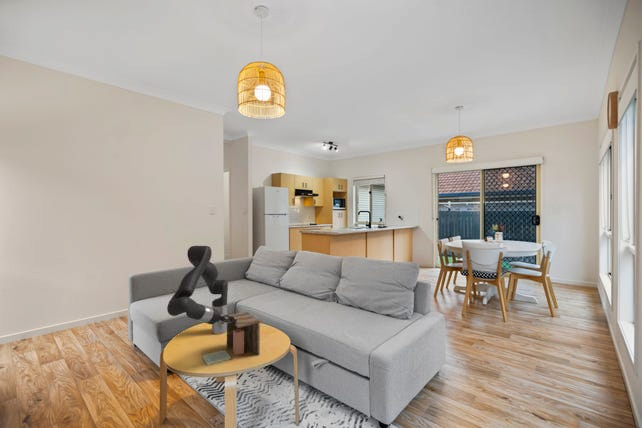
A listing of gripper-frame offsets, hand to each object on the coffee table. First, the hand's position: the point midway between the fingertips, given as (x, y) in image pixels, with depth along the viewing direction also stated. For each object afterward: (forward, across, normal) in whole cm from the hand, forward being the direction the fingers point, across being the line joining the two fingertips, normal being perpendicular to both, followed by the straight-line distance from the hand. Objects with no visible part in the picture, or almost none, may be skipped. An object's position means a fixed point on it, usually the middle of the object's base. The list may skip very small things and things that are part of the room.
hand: (230, 321), depth 155 cm
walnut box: (+15, +1, +12) cm, 20 cm away
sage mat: (+4, +7, +17) cm, 19 cm away
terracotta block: (+13, +2, +13) cm, 19 cm away
